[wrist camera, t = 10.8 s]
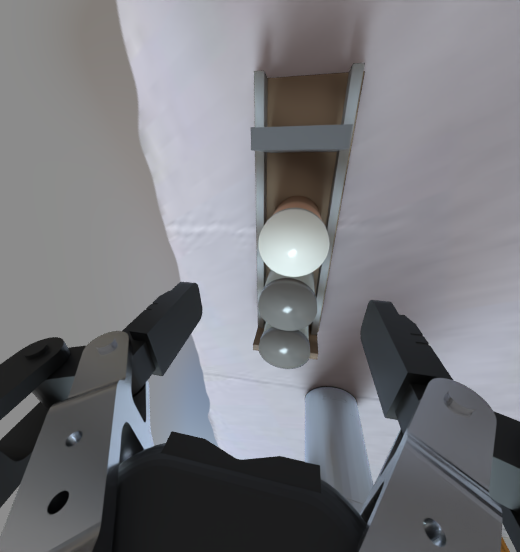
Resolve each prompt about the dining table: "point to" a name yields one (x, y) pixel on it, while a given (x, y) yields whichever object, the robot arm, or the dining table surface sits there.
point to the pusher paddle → (301, 138)
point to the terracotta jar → (294, 238)
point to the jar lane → (304, 160)
